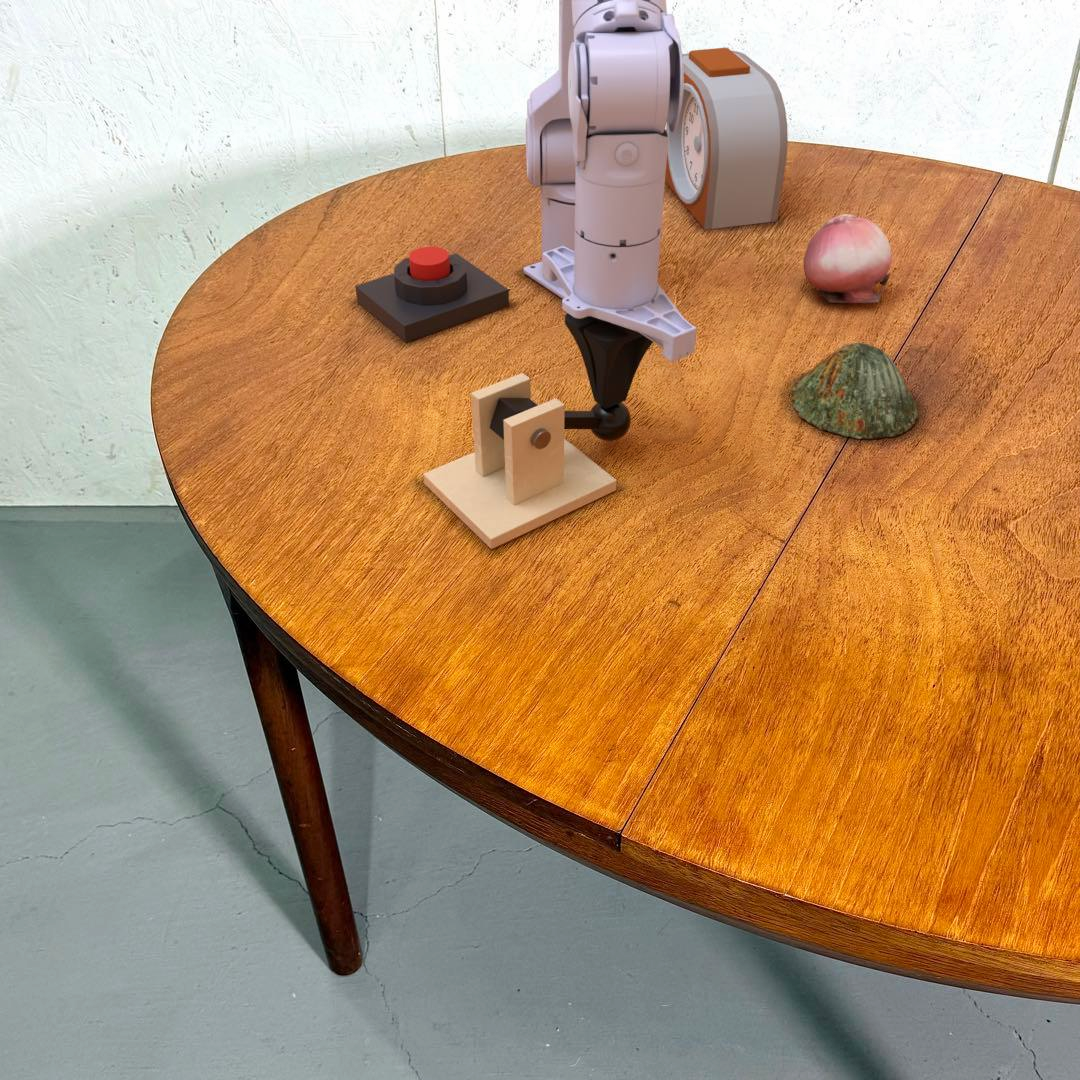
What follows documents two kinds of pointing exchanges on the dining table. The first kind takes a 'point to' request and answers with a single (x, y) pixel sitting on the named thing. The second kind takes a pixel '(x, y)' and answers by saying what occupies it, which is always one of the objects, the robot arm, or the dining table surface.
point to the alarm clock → (728, 141)
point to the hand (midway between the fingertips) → (610, 400)
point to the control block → (431, 298)
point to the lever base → (517, 469)
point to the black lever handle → (570, 418)
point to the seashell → (856, 394)
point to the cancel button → (429, 263)
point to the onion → (848, 260)
